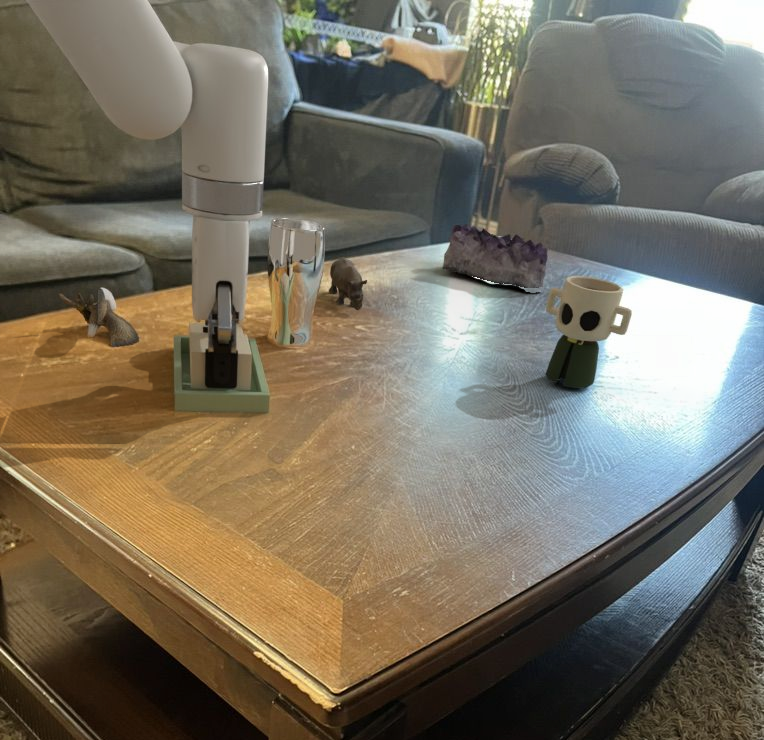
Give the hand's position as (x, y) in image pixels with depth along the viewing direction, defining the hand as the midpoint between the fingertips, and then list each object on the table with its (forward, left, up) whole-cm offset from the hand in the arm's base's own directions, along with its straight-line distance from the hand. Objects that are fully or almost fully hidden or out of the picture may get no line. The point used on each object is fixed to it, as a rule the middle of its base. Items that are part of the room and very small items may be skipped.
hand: (219, 373), depth 83 cm
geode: (+52, +56, -3) cm, 77 cm away
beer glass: (+10, +18, -3) cm, 21 cm away
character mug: (+45, +7, -3) cm, 46 cm away
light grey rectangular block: (0, 0, -1) cm, 1 cm away
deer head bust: (-13, +17, -3) cm, 21 cm away
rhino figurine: (+21, +36, -3) cm, 42 cm away
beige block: (0, +8, -2) cm, 9 cm away
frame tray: (0, +4, -3) cm, 5 cm away
